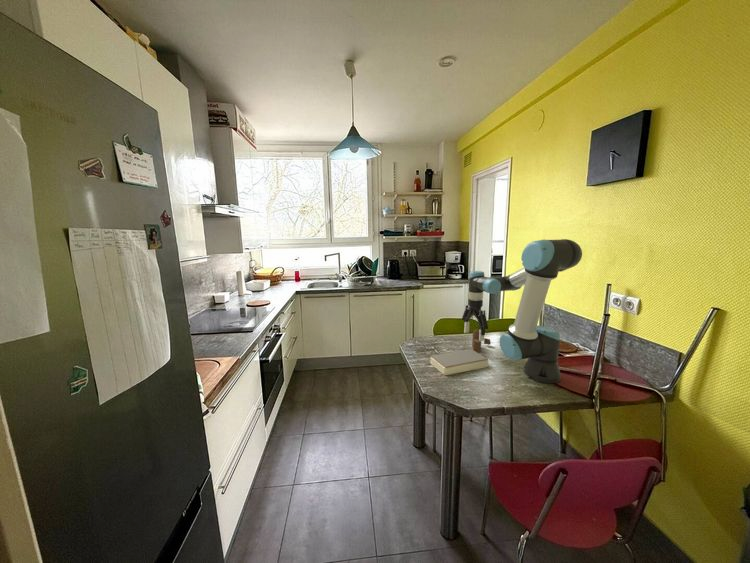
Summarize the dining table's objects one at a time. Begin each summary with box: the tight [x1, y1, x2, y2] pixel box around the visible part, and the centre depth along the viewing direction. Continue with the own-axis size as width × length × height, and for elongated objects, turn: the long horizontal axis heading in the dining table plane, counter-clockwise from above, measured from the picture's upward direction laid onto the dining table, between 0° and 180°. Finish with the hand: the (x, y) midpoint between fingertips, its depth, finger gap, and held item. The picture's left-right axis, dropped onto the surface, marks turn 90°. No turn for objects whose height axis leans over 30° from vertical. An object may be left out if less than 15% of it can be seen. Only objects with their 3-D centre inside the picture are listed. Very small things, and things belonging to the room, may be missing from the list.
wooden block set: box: [471, 329, 491, 354], centre depth 165 cm, size 18×9×10 cm, turn 146°
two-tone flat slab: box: [429, 348, 489, 376], centre depth 147 cm, size 14×25×4 cm, turn 109°
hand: (473, 336), depth 165 cm, fingers open, 12 cm apart
